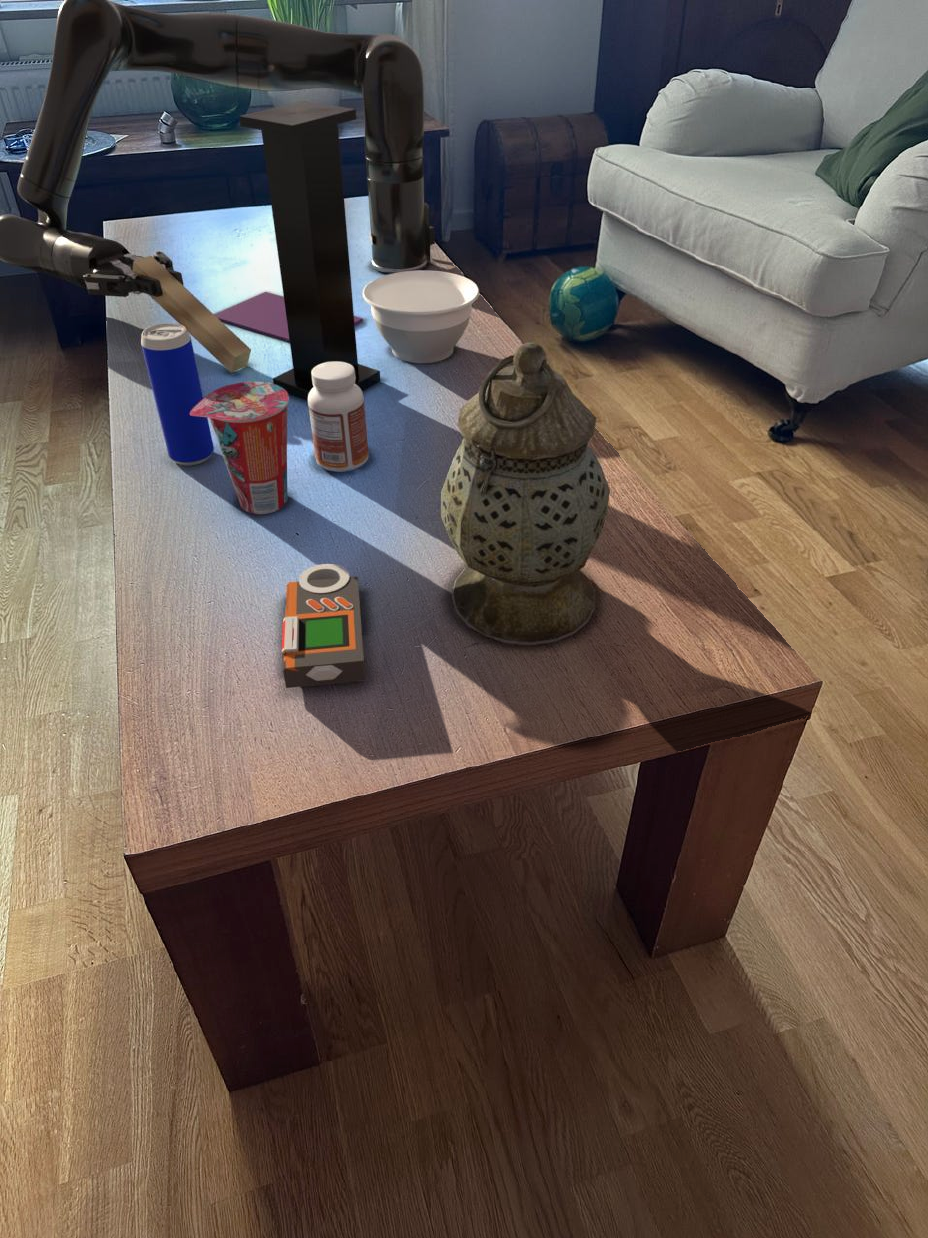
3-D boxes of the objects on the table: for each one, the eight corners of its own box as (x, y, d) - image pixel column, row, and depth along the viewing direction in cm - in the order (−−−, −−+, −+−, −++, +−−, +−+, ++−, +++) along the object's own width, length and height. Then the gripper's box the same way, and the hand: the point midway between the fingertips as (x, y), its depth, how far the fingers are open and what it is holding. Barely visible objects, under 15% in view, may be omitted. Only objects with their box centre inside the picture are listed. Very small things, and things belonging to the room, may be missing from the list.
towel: (265, 293, 142) (265, 291, 142) (362, 320, 134) (362, 318, 134) (211, 318, 135) (210, 315, 134) (310, 348, 126) (309, 345, 126)
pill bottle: (358, 442, 106) (350, 353, 98) (377, 466, 101) (370, 375, 94) (308, 453, 104) (296, 364, 96) (325, 478, 99) (314, 386, 92)
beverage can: (220, 446, 105) (195, 322, 95) (206, 468, 101) (179, 342, 91) (178, 444, 105) (149, 320, 96) (163, 466, 101) (131, 340, 92)
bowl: (459, 322, 133) (459, 264, 128) (494, 365, 122) (495, 304, 116) (356, 335, 130) (351, 276, 124) (381, 381, 118) (377, 318, 113)
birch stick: (131, 278, 122) (133, 260, 120) (148, 272, 124) (151, 254, 122) (231, 373, 120) (234, 356, 118) (247, 365, 122) (251, 349, 120)
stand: (273, 388, 116) (232, 114, 96) (325, 362, 123) (296, 99, 102) (330, 409, 112) (299, 126, 91) (380, 381, 118) (362, 110, 97)
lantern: (623, 628, 80) (664, 366, 63) (477, 666, 76) (479, 398, 60) (557, 543, 90) (577, 298, 73) (425, 573, 86) (415, 322, 70)
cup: (263, 472, 100) (246, 373, 92) (319, 496, 97) (306, 394, 89) (201, 510, 94) (177, 407, 87) (257, 536, 91) (237, 431, 83)
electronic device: (356, 558, 84) (363, 660, 72) (359, 584, 86) (366, 686, 74) (284, 564, 83) (279, 667, 71) (288, 590, 85) (284, 694, 73)
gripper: (41, 248, 122) (120, 270, 114) (125, 223, 130) (204, 243, 122) (58, 302, 126) (135, 327, 118) (138, 275, 135) (214, 297, 127)
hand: (169, 284), depth 120 cm, fingers closed on birch stick, 3 cm apart
